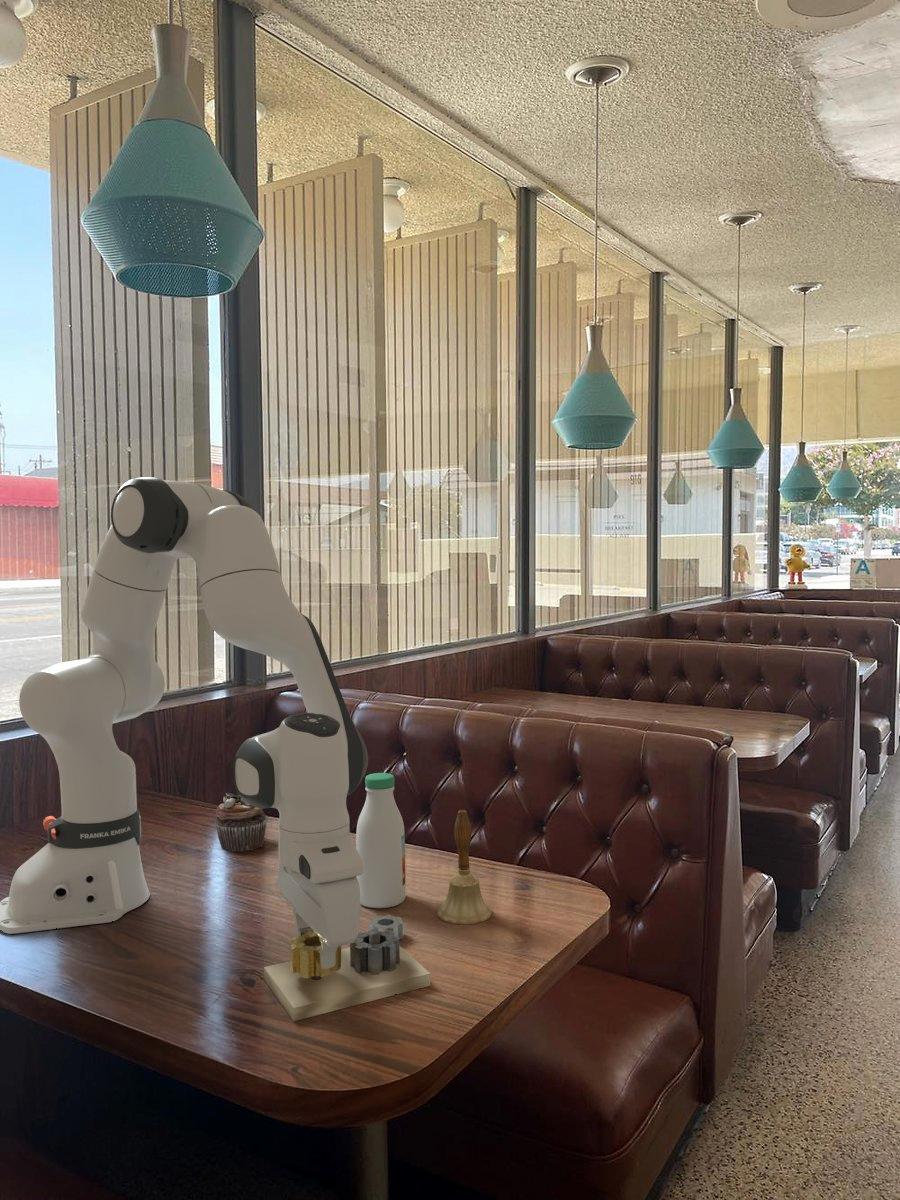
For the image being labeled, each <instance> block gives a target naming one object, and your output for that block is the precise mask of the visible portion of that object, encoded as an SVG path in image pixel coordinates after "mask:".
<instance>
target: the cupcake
mask: <svg viewBox="0 0 900 1200" xmlns="http://www.w3.org/2000/svg"><path fill="white" fill-rule="evenodd" d="M222 800H223V801H222V803H220V804H219V805H218V807H216V810H215V814H216V816H215V818H214V825H215V829H216V832H217V837H218V841H219V844H220V847H221V849H222V850H223V849H224V851H226V852H234V851H239V852H246V850H249V851H252V850H251V849H253V850H256V849H255V848H257V849H259V848H261V847H262V846H263V844H264V843H265V834H266V829H267V823H268V817H267V815H266V814H265V813H264V811H263V809H264V808H256V807H254V806H252V805H250V804H249V803H247V802H246V801H245V800H244V799H242V798H241V797H240V796H239V794H238V793H234V794H233V793H230V792H225V793H224V796H223V799H222ZM261 845H262V846H261ZM260 846H261V847H260ZM258 847H259V848H258Z"/></svg>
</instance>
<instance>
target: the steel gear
mask: <svg viewBox="0 0 900 1200" xmlns="http://www.w3.org/2000/svg"><path fill="white" fill-rule="evenodd" d="M372 931H378V929H371V931H368V930H367V931H364V932H362V931H359V933H358V936H357V938H356V940H355V942H353V943H351V944H349V948H350V966H355V971H356V972H358V973H362V972H368V973H371V975H379V972H382V971H390V972H391V971H393V970H395V969H396V964H400V947H401V945H400V939H399V936H398V937H395V935H394V932H392V931H390V930H388V931H386V932H385V931H382V932H381V931H378V932H380V944H369V933H370V932H372Z"/></svg>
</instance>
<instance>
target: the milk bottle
mask: <svg viewBox="0 0 900 1200" xmlns="http://www.w3.org/2000/svg"><path fill="white" fill-rule="evenodd" d="M395 781H396V780H395V775H393V774H392V773H388V772H375V773H370V774H368V775H366V776H365V780H364V783H365V791H366V797H365V802H364V805H363V807H362V810H361V812H360V814H359V816H358V820H357V825H356V839H355V841H356V842H355V844H356V845H355V847H356V849H357V851H358V853H359V854H360V856H361V858H362V860H363V874H362V875H359V876H356V877H357V879H358V881H359V886H360V906H363V907H366V908H371V909H372V908H373V909H387V908H391V907H392V908H393V907H396V906H399V905H400V904H402V903H403V902H404V901H405V898H406V886H407V885H406V841H405V840H406V839H405V838H406V837H405V836H406V835H405V826H404V820H403V816H402V815H401V812H400V810H399V808H398V806H397V803H396V800H395V797H394V790H395Z"/></svg>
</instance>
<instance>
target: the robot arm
mask: <svg viewBox="0 0 900 1200" xmlns="http://www.w3.org/2000/svg"><path fill="white" fill-rule="evenodd" d="M110 521H111V524H110V527H109V529H108V530H107V533H106V535H105V536H104V539H103V541H102V544H101V547H100V549H99V551H98V554H97V557H96V560H95V562H94V566H93V570H92V573H91V577H90V580H89V583H88V586H87V590H86V593H85V597H84V599H83V604H82V607H81V611H80V615H81V620H82V622H83V624H84V625H85V626H86V628H87V629H88V630H89V631H90V632H91V633H92V638H93V639H92V640H93V641H92V642H93V643H92V650H91V652H90V654H89V655H88V657H86V658H81V659H74V660H68V661H61V662H57V663H55V664H52V665H50V666H48V667H44V668H43V669H40V670H39V671H36V672H34V673H32V674H31V675H29V676H28V677H27V678H26V679H25V681H24V682H23V684H22V686H21V689H20V693H19V699H18V703H19V704H18V705H19V711H20V714H21V716H22V718H23V720H24V722H25V723H26V725H27V726H28V727H29V729H31V730H32V731H33V732H35V733H37V734H39V735H40V736H41V737H42V738H43V739H44V740H45V741H46V743H47V744H48V747H50V749H51V751H52V754H53V755H54V759H55V762H56V764H57V768H58V774H59V775H58V776H59V783H60V803H61V816H59V817H57V818H55V816H53V815H49V816H46V817H45V818H44V819H43V822H42V824H43V828H44V830H45V831H47V839H48V843H47V844H45V845H44V846H43V847H42V848H41V849H40V850H38V851H37V852H36V853H35V854H34V855H32V856H31V857H30V858H29V859H28V860H26V861H25V862H23V863H22V864H21V865H20V866H19V867H18V868H17V869H16V871H15V873H14V875H13V877H12V880H11V884H10V886H9V887H10V888H9V892H8V893H9V895H8V896H6V897H5V898H3V899H1V901H0V930H2V931H3V933H5V934H10V935H11V934H23V933H30V932H39V931H46V930H54V929H56V928H57V929H64V928H65V929H66V928H72V927H79V926H80V927H81V926H82V927H83V926H89V925H90V926H91V925H97V924H107V923H112V921H113V922H115V921H117V920H119V919H120V918H122V917H123V916H124V914H126V913H128V912H130V911H132V910H134V909H136V908H139V907H140V906H142V905H143V904H144V903H145V902H147V900H149V899H150V896H151V893H150V890H149V887H148V885H147V884H148V883H147V881H146V878H145V874H144V870H143V864H142V858H141V853H140V845H141V839H142V825H141V824H142V822H141V815H140V810H139V809H138V807H137V805H138V804H137V803H138V802H137V774H136V773H137V771H136V764H135V761H134V760H133V758H132V757H131V756H130V755H129V754H127V753H126V752H124V751H122V750H120V748H119V747H118V745H117V743H116V739H115V736H114V733H113V732H114V731H113V724H118V723H120V722H124V721H129V720H131V719H132V720H133V719H135V718H137V717H139V716H141V715H142V714H144V713H147V712H148V711H149V710H151V709H153V708H154V707H155V706H157V705H158V703H159V702H160V701H161V699H162V697H163V695H164V692H165V687H166V686H165V685H166V684H165V682H166V681H165V676H164V673H163V672H164V671H163V670H162V668H161V667H160V665H159V663H158V662H157V661H156V660H155V653H154V648H155V646H154V643H155V642H154V641H155V639H154V638H155V633H156V629H157V628H156V627H157V623H158V619H159V617H160V614H161V610H162V606H163V603H164V599H165V596H166V593H167V590H168V587H169V583H170V579H171V575H172V572H173V568H174V566H175V564H176V562H177V561H178V560H179V559H189V558H190V559H193V560H194V562H195V565H196V568H197V576H198V583H199V590H200V595H201V601H202V606H203V610H204V613H205V616H206V618H207V619H206V620H207V622H208V624H209V626H210V627H211V629H212V630H213V631H214V632H215V633H216V634H217V635H218V636H219V637H220V638H222V639H223V640H225V641H226V642H228V643H230V644H231V645H233V646H236V647H239V648H241V649H243V650H248V651H251V652H254V653H258V654H261V655H263V656H266V657H269V658H271V659H273V660H276V661H277V662H279V663H280V664H282V665H283V666H285V667H286V668H287V669H288V671H290V672H291V675H292V676H293V677H294V680H295V682H296V684H297V688H298V690H299V691H298V692H299V693H300V696H301V699H302V702H303V704H304V707H305V709H306V712H302V713H301V712H300V713H296V714H292V715H289V716H288V717H286V718H284V719H283V720H282V721H281V722H280V725H279V727H277V728H275V729H274V730H271V731H267V732H266V733H262V734H257V735H255V736H252V737H248V738H247V739H246V740H245V741H243V743H242V744H241V745H240V746H239V748H238V749H237V752H236V754H235V757H234V759H233V765H232V774H233V776H232V777H233V784H234V788H235V791H236V794H239V796H240V797H241V798H242V799H244V800H245V801H246V802H247V803H249V804H250V805H252V806H254V807H256V808H262V809H270V808H273V809H276V810H277V811H278V813H279V818H278V823H277V825H278V826H277V831H278V832H277V835H278V838H277V839H278V841H277V842H278V843H277V844H278V864H277V865H278V866H277V870H278V871H277V873H278V874H277V886H278V891H279V894H280V896H281V897H282V898H283V899H284V900H285V901H286V902H287V903H288V904H289V906H291V908H292V913H293V917H294V922H295V925H296V937H300V936H302V935H304V933H305V932H309V931H311V932H312V933H314V932H315V933H316V934H317V935H318V936H319V940H320V942H321V947H320V950H319V951H318V963H319V964H320V966H321V967H322V968H323V969H327V968H331V967H334V965H335V963H336V961H335V953H336V950H337V948H338V946H341V947H342V946H345V945H346V946H347V945H350V944H351V943H353V942H355V940H356V938H357V936H358V933H359V932H360V920H361V919H360V918H361V917H360V916H361V904H360V886H359V881H358V879H357V876H359V875H362V874H363V860H362V858H361V856H360V854H359V853H358V851H357V849H356V845H355V843H354V840H353V836H352V833H351V832H350V831H351V830H350V815H349V811H348V808H347V796H349V795H351V794H353V793H354V792H356V790H357V788H359V786H360V784H361V782H362V781H363V779H364V777H365V775H366V772H367V769H368V766H369V754H368V749H367V746H366V744H365V741H364V738H363V737H362V735H361V733H360V731H359V730H358V728H357V727H356V725H355V723H354V721H353V719H352V717H351V715H350V713H349V711H348V707H347V705H346V703H345V699H344V697H343V694H342V691H341V688H340V686H339V684H338V681H337V677H336V676H335V673H334V670H333V668H332V665H331V662H330V659H329V657H328V655H327V651H326V649H325V647H324V645H323V642H322V639H321V638H320V637H321V636H320V635H319V633H318V631H317V629H316V626H315V625H314V622H312V620H311V619H310V618H309V617H308V616H306V615H305V614H303V613H301V611H299V609H298V608H297V607H296V606H295V604H294V602H293V601H292V600H291V598H290V596H289V595H288V593H287V590H286V588H285V585H284V583H283V580H282V576H281V571H280V567H279V562H278V559H277V554H276V551H275V549H274V545H273V543H272V540H271V537H270V534H269V532H268V529H267V527H266V525H265V522H264V521H263V519H262V516H260V514H259V513H258V512H257V511H255V509H254V507H253V505H252V504H251V502H249V500H248V499H246V498H245V497H243V496H242V495H240V494H237V493H235V492H234V491H231V490H227V489H219V488H216V487H213V486H211V485H206V484H203V483H200V482H193V481H190V482H189V481H187V482H186V481H179V480H170V479H169V480H167V479H161V478H160V477H154V476H152V477H150V476H149V477H148V476H146V477H145V476H144V477H135V478H132V479H129V480H128V481H126V482H125V483H123V484H122V486H120V488H119V489H118V491H117V492H116V494H115V496H114V498H113V501H112V504H111V509H110ZM2 931H1V932H2Z"/></svg>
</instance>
